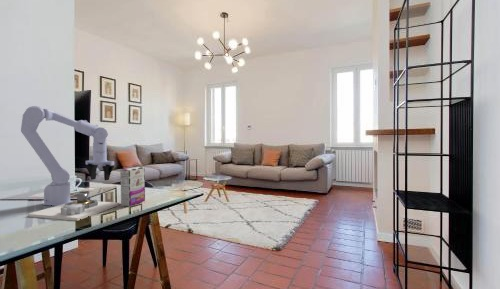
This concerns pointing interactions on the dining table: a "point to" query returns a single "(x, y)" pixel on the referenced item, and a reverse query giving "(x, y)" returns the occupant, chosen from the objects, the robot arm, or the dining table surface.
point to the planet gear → (82, 199)
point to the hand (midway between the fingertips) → (100, 179)
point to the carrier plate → (73, 210)
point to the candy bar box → (132, 186)
